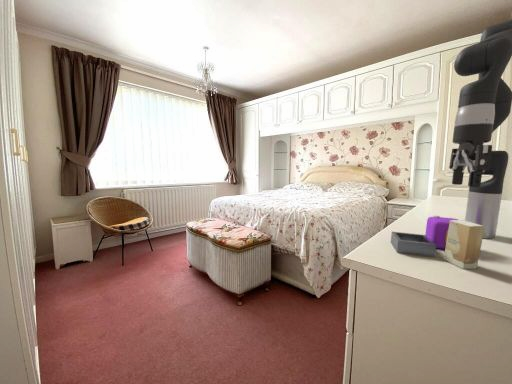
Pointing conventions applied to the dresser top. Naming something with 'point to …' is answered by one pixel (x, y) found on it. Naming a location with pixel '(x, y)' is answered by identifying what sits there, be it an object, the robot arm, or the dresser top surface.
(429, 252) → the tray
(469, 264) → the skincare box
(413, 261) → the dresser top surface
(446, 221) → the toy camera
